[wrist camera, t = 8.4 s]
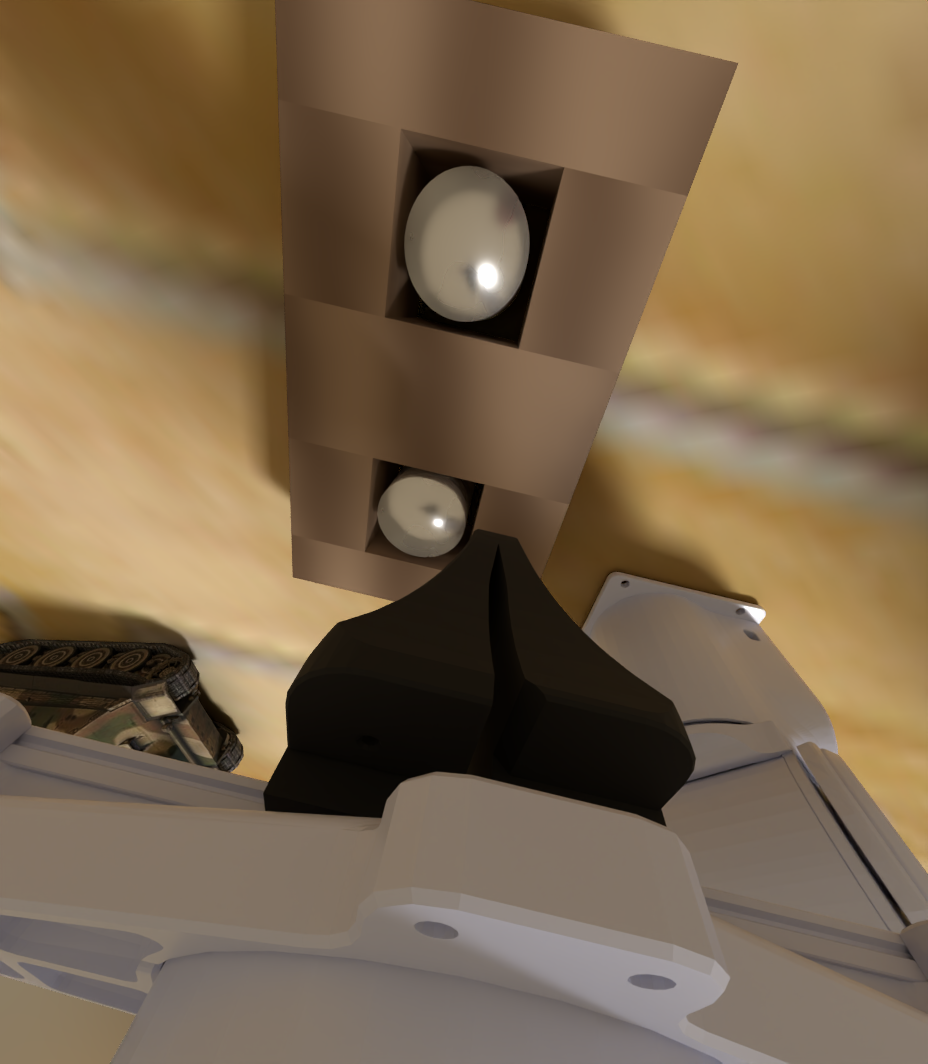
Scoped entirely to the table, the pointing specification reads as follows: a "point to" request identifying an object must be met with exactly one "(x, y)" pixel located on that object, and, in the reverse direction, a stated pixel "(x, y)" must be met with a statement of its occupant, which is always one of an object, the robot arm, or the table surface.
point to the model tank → (118, 697)
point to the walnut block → (388, 293)
